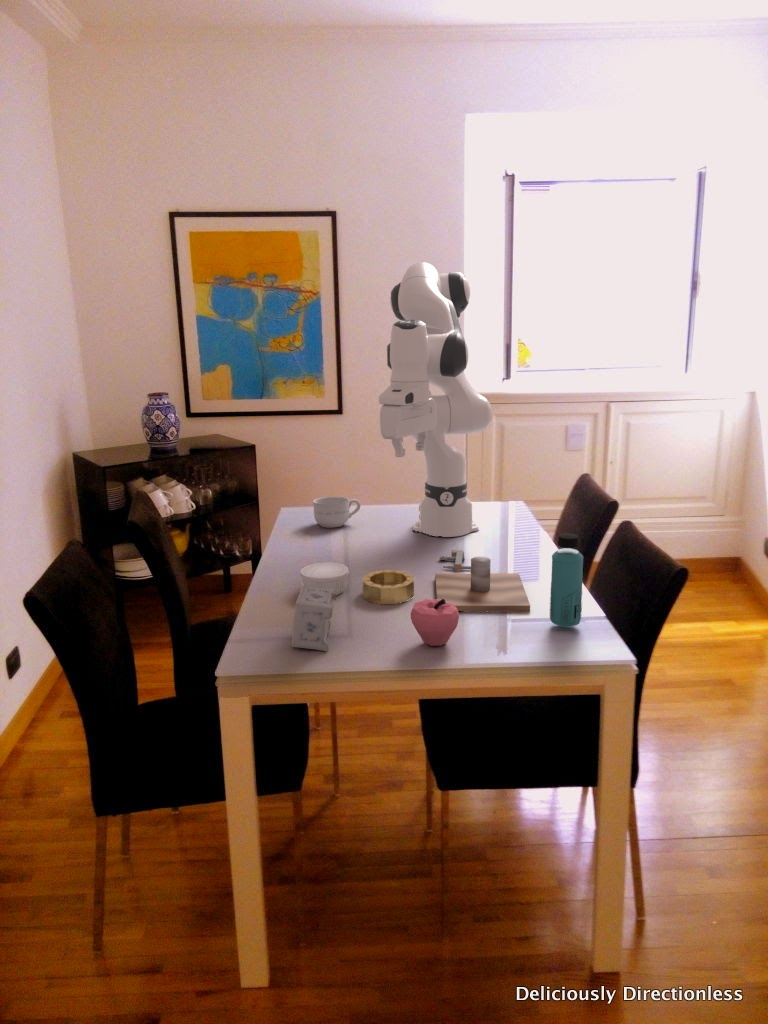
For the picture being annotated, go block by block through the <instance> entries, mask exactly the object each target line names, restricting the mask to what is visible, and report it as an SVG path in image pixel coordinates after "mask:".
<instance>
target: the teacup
mask: <svg viewBox="0 0 768 1024" xmlns="http://www.w3.org/2000/svg"><path fill="white" fill-rule="evenodd" d="M312 503H313V504H312V505H313V515H314V520H315V522H316V523H317V524H319V525H320V526H321V527H322V528H338V527H339V528H340V527H342V526H344V525H345V524H346V523H347V522H348V520H349V519H351V518H352V516H354V515H355V514H357V513H358V512H359V511H360V510H361V509H360V508H361V502H360V501H359V500H358V499H356V498H353V499H349V498H348V497H345V496H325V497H319V498H315V499H314V500H312ZM353 503H355V504H356V508H355V509H354V510H352V511H351V512H350V508H351V506H352V504H353Z"/></svg>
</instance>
